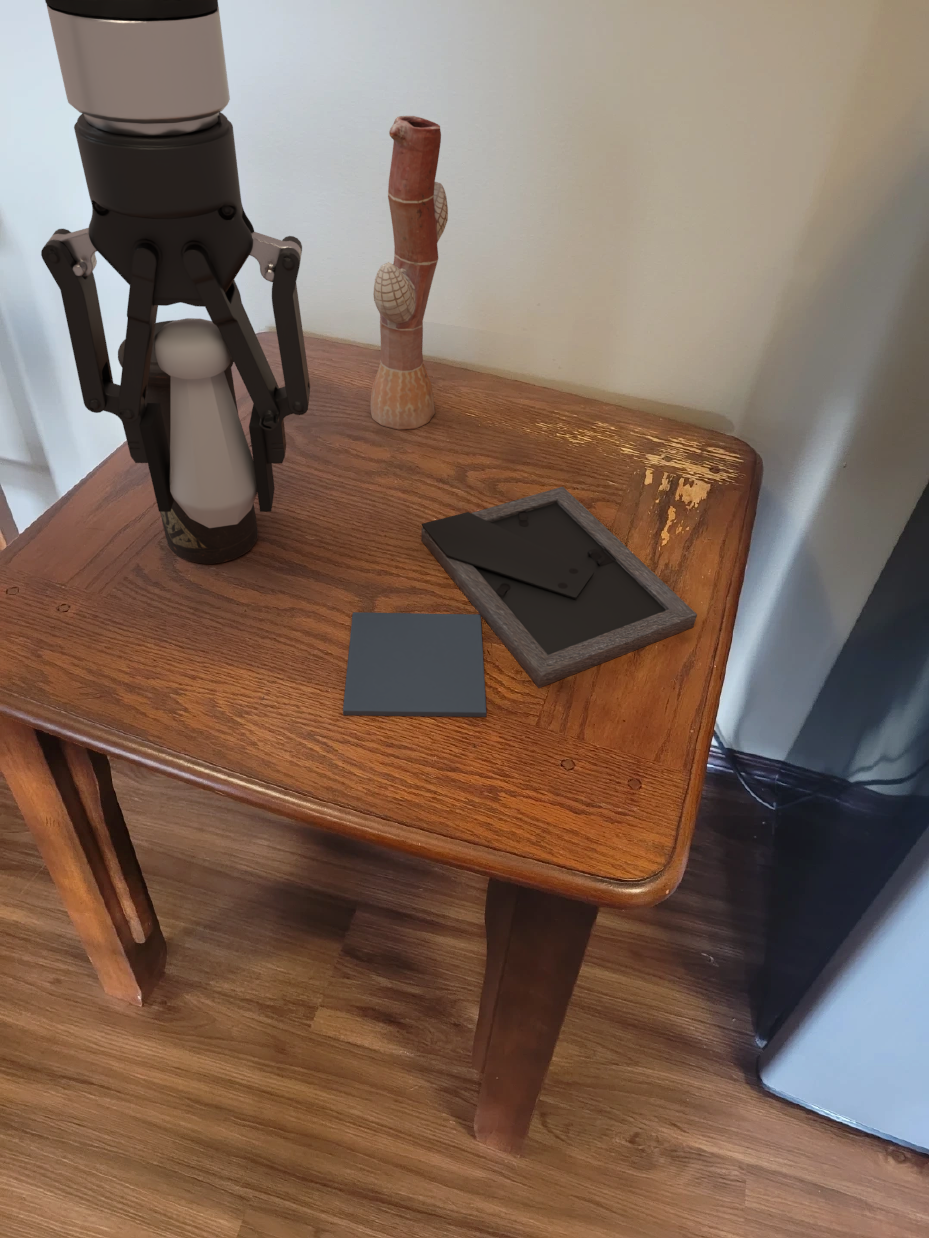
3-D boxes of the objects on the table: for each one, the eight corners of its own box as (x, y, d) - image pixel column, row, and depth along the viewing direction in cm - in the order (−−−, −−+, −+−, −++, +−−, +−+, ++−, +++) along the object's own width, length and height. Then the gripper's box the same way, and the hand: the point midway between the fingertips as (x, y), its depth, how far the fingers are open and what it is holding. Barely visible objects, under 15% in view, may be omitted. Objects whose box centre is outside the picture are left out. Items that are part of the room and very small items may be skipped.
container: (184, 505, 83) (141, 306, 70) (274, 516, 83) (248, 317, 69) (148, 560, 77) (93, 353, 63) (245, 572, 76) (210, 367, 63)
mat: (343, 715, 65) (342, 710, 65) (352, 616, 73) (352, 611, 73) (486, 717, 66) (486, 712, 65) (480, 619, 74) (480, 614, 73)
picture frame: (421, 540, 81) (538, 688, 68) (421, 523, 80) (541, 671, 67) (560, 499, 87) (693, 627, 74) (563, 482, 86) (698, 610, 73)
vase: (391, 438, 94) (388, 136, 73) (353, 411, 98) (339, 116, 77) (463, 410, 99) (480, 120, 78) (424, 385, 103) (430, 102, 82)
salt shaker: (219, 547, 55) (186, 361, 46) (157, 515, 57) (114, 331, 48) (280, 505, 59) (261, 325, 50) (219, 476, 61) (190, 298, 52)
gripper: (347, 103, 45) (358, 469, 61) (-24, 84, 43) (87, 467, 59) (344, 143, 40) (357, 533, 56) (-80, 124, 38) (58, 534, 54)
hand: (218, 499), depth 58 cm, fingers closed on salt shaker, 6 cm apart
